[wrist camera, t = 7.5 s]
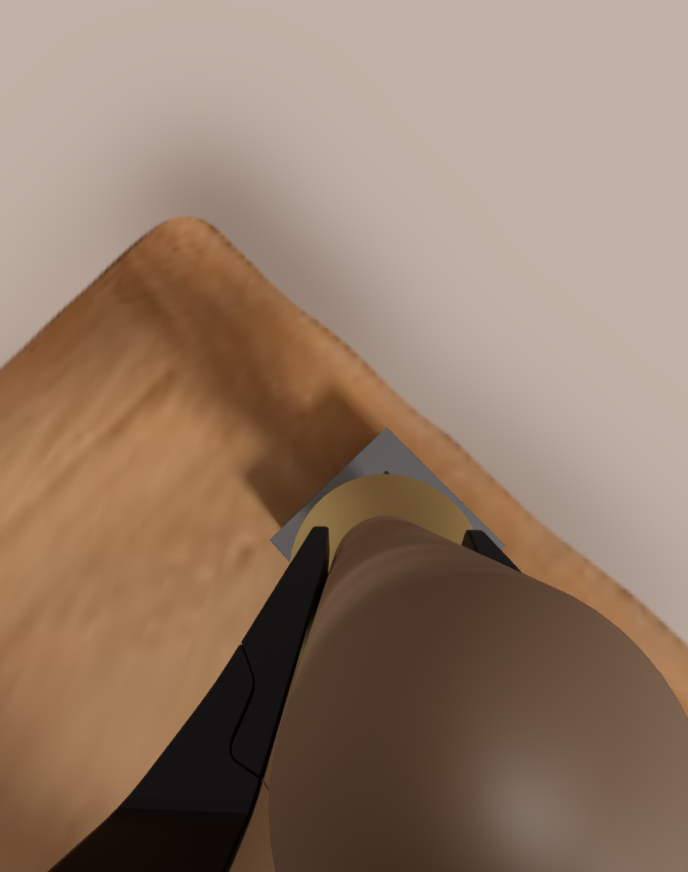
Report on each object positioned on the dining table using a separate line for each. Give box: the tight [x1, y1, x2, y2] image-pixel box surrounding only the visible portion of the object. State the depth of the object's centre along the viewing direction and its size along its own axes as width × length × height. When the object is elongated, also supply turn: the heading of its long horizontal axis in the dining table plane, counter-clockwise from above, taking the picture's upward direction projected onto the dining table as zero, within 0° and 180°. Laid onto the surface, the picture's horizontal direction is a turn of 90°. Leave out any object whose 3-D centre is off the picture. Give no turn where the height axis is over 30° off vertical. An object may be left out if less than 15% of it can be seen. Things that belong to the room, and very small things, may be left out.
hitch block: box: [270, 427, 505, 562], centre depth 20 cm, size 9×23×4 cm, turn 44°
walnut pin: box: [268, 474, 688, 872], centre depth 9 cm, size 6×6×13 cm
